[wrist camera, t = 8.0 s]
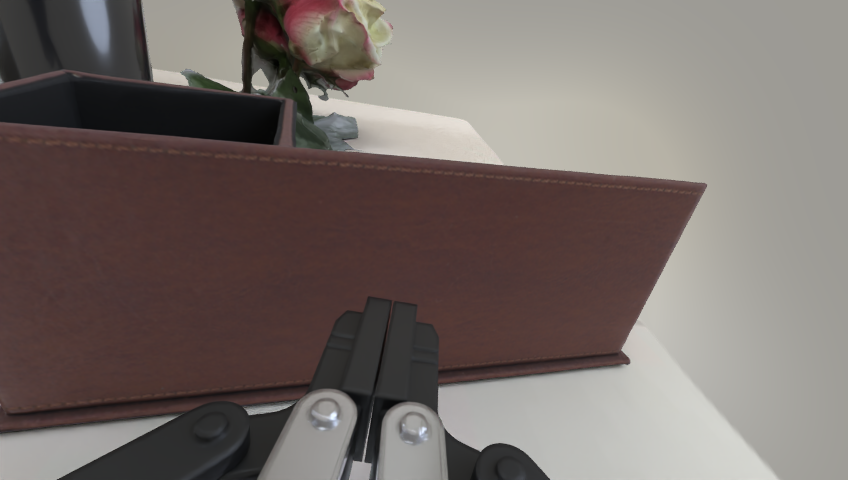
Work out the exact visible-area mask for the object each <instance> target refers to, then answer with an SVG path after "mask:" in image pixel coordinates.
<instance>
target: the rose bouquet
mask: <svg viewBox="0 0 848 480" xmlns="http://www.w3.org/2000/svg"><path fill="white" fill-rule="evenodd" d="M232 1H233V4H234V7H235V9H236V13H237V15H238V19H239V22H240V26H241V30H242V35H243V37H244V42H243V49H242V81H243V89H242V91H240V92H239V93H247V94H255V95H264V96H272V97H280V98H287V99H292V100H294V101H295V102H297V116H296V132H295V136H296V147H298V148H311V149H321V150H333V151H345V150H346V149H352V150H354V149H353V148H352V147H351V146H349V145H348V144H347V143H346V142H344V141H343V140H342V139H348V138H358V128H357V122H356V119H355V118H353V117H349V116H348V117H345V116H342V115H338V114H336V113H335V112H334V113H332V114H331V115H329V116H327V117H325V116H317V115H312V113H313V112H312V105H311V103H310V100H309V95H308V93H307V91H306V90H305V88H304V87H303V85H302V83H301V81H300V79H299V76H300V77H302V78H304V80H305V81H306V83H307V86H308V89H310V88H312V87H317V88H319V89H321V90H322V91H323V92H324V95H322V96H318V97H319V98H320V99H322V100H325V101H327V100H328V99H329V98H328V96H327V95H328V94H327V93H326V90H327V89H334V90H338V91H342V92H343V93H344V94H345V95H346V96H347V97H348V95H347V94H346V93H345V92H344V91H343V90H349V89H351V88H352V87H353V86H356V85H357V82H358V81H359V80H372V79H374V70H373V69H374V68H375V67H377V66H379V65H381V60H380V58H381V56H382V50H383V49H382V48H381V47H384V46H385V45H388V44H391V43H390V41H391V39H392V37H393V32H392V29H393V27H392V25H391V24H390V23H389V22H387V21H386V20H383V19H381V18H380V16H381V15H382V14H384V11H386V9H385V8H384V7H383V6H382V5H381V4H380V3H379V2H376V1H375V0H232ZM260 68H261V69H262V71H263V72H264V74H265V76H266V77H267V79H268V81H269V86H268V88H267V89H266V91H265V90H262V89H259V90H256V89H254V88H253V86H252V83H251V81H252V76H253V74H254V73H256V72H257V71H258V70H259V69H260ZM181 74H182V75H184V76H185V77H186V79H187V80H188V83H189V86H190V87H198V88H206V89H215V90H222V91H230V92H236V91H233V90H232V89H230V88H227V87H225V86H223V85H221V84H220V83H217V82H214V81H212V80H210V79H207V78H205V77H204V76H202V75H201V74H199V73H196V72H194V71H192V70H190V69H185V70H184V71H182V72H181ZM357 151H360V150H357Z"/></svg>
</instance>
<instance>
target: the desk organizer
mask: <svg viewBox="0 0 848 480" xmlns="http://www.w3.org/2000/svg"><path fill="white" fill-rule="evenodd" d="M296 116H297V102H295V101H294V100H292V99H287V98H280V97H272V96H264V95H255V94H247V93H239V92H230V91H222V90H215V89H206V88H198V87H190V86H182V85H173V84H165V83H158V82H150V81H142V80H134V79H126V78H118V77H110V76H103V75H97V74H90V73H84V72H78V71H72V70H64V69H62V70H59V71H54V72H49V73H45V74H40V75H37V76H33V77H28V78H24V79H20V80H15V81H11V82H6V83H2V84H0V433H3V432H11V431H20V430H28V429H36V428H43V427H53V426H62V425H72V424H81V423H91V422H100V421H110V420H119V419H128V418H138V417H147V416H155V415H164V414H173V413H183V412H188V411H190V410H192V409H194V408H196V407H198V406H201V405H203V404H206V403H209V402H214V401H230V402H234V403H236V404H239V405H240V406H249V405H256V404H264V403H272V402H279V401H288V400H297V399H301V398H302V397H303V396H304V395H305V393H306V392H307V390H308V388H309V386H310V383H311V381H312V378H313V376H314V373H315V371H316V368H317V366H318V363H319V361H320V358H321V356H322V353H323V351H324V348H325V347H326V343H327V341H328V338H329V336H330V334H331V331H332V328H333V326H334V323H335V321H336V319H338V318H339V317H340V316H341V315H342V314H343V313H344V312H346V311H347V310H350V311H356V312H362V313H363V311H364V308H365V304H366V301H367V298H368V296H371V297H377V298H383V299H389V300H392V305H391V311H390V317H389V323H390V318H391V313H392V308H393V303H394V301H400V302H406V303H412V304H418V307H417V316H416V322H422V323H428V324H432V325H433V326H434V328H435V330H436V332H437V334H438V336H439V352H438V354H439V362H438V384H441V383H452V382H460V381H470V380H479V379H488V378H496V377H509V376H518V375H527V374H536V373H545V372H554V371H563V370H571V369H580V368H589V367H598V366H606V365H618V364H626V365H628V364H630V359H629V358H628V357H627V356H626V355H625V354H624V353H623V352H622V351H621V349H622V347H623V345H624V343H625V342H626V340H627V337H628V335H629V333H630V331H631V329H632V328H633V326H634V324H635V322H636V320H637V319H638V317H639V315H640V313H641V311H642V309H643V307H644V305H645V303H646V301H647V299H648V297H649V296H650V294H651V292H652V290H653V288H654V286H655V284H656V282H657V280H658V279H659V277H660V275H661V273H662V271H663V269H664V267H665V265H666V263H667V261H668V259H669V257H670V255H671V253H672V252H673V250H674V248H675V246H676V244H677V242H678V241H679V239H680V237H681V234H682V232H683V230H684V228H685V227H686V225H687V223H688V221H689V219H690V218H691V216H692V214H693V212H694V210H695V208H696V206H697V204H698V202H699V200H700V198H701V196H702V195H703V193H704V191H705V189H706V187H707V184H705V183H693V182H686V181H675V180H666V179H655V178H643V177H633V176H615V175H604V174H594V173H583V172H572V171H559V170H548V169H536V168H526V167H515V166H504V165H493V164H483V163H472V162H461V161H451V160H440V159H429V158H417V157H406V156H394V155H382V154H371V153H359V152H346V151H333V150H321V149H311V148H298V147H296V136H295V132H296ZM389 323H388V328H389ZM387 333H388V330H387ZM386 338H387V336H386ZM385 343H386V342H385Z"/></svg>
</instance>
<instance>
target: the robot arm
mask: <svg viewBox="0 0 848 480" xmlns="http://www.w3.org/2000/svg"><path fill="white" fill-rule="evenodd" d="M62 69H64V70H72V71H78V72H84V73H90V74H97V75H103V76H110V77H118V78H126V79H134V80H142V81H150V82H153V74H152V67H151V63H150V55H149V48H148V41H147V34H146V26H145V18H144V11H143V3H142V0H0V84H2V83H6V82H11V81H15V80H20V79H24V78H28V77H33V76H37V75H40V74H45V73H49V72H54V71H59V70H62ZM391 305H392V300H389V299H383V298H377V297H371V296H368V298H367V301H366V304H365V308H364V311H363V313H362V312H356V311H350V310H347V311H346V312H344V313H343V314H342V315H341V316H340V317H339V318H338V319H336V321H335V323H334V326H333V328H332V331H331V334H330V336H329V338H328V341H327V343H326V347H325V348H324V351H323V353H322V356H321V358H320V361H319V363H318V366H317V368H316V371H315V373H314V376H313V378H312V381H311V383H310V386H309V388H308V390H307V392H306V393H305V395H304V396H303V397H302V398H301V399H300V400H299V401H298V402H296V403H295V404H293V405H292V406H290V407H288V408H286V409H283V410H280V411H277V412H271V413H264V414H256V415H248V413H247V412H246V410H245V409H244V408H243V407H242V406H240V405H239V404H236V403H234V402H230V401H214V402H209V403H206V404H203V405H201V406H198V407H196V408H194V409H192V410H190V411H188V412H186V413H185V414H183V415H181V416H179V417H177V418H175V419H173V420H171V421H169V422H167V423H165V424H163V425H161V426H159V427H158V428H156V429H154V430H152V431H150V432H148V433H146V434H144V435H142V436H140V437H138V438H136V439H134V440H132V441H131V442H129V443H127V444H125V445H123V446H121V447H119V448H117V449H115V450H113V451H111V452H109V453H107V454H106V455H104V456H102V457H100V458H98V459H96V460H94V461H92V462H90V463H88V464H86V465H84V466H82V467H80V468H79V469H77V470H75V471H73V472H71V473H69V474H67V475H65V476H63V477H61V478H59V479H57V480H349V476H350V472H351V467H352V463H353V461H360V462H362V458H363V453H364V448H365V443H366V438H367V433H368V428H369V423H370V418H371V423H370V430H369V436H368V442H367V449H366V455H365V463H371V464H372V466H371V472H370V478H369V480H550V479H549V478H548V477H547V476H546V474H545V473H544V472H543V471H542V470H541V469H540V468H539V467H538V466H537V464H536V463H535V462H534V461H533V460H532V459H531V458H530V457H529V456H528V455H527V454H526V453H524V452H523V451H522V450H520V449H518V448H517V447H514V446H512V445H508V444H503V443H497V444H492V445H489V446H487V447H486V448H484V449H483V450H482V451H481V452H480V451H478V450H476V449H474V448H472V447H469V446H467V445H465V444H463V443H461V442H460V441H458V440H456V439H455V438H454V437H452V436H451V435H450V434H449V433H448V432H447V431H446V429H445V428H444V426H443V423H442V421H441V419H440V417H439V416H438V362H439V354H438V352H439V336H438V334H437V332H436V330H435V328H434V326H433V325H432V324H428V323H422V322H416V316H417V307H418V304H412V303H406V302H400V301H394V303H393V308H392V313H391V318H390V323H389V317H390V311H391ZM388 323H389V328H388ZM387 330H388V333H387ZM386 336H387V338H386ZM385 342H386V343H385ZM373 403H374V404H373ZM372 408H373V410H372ZM371 413H372V417H371Z"/></svg>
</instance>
